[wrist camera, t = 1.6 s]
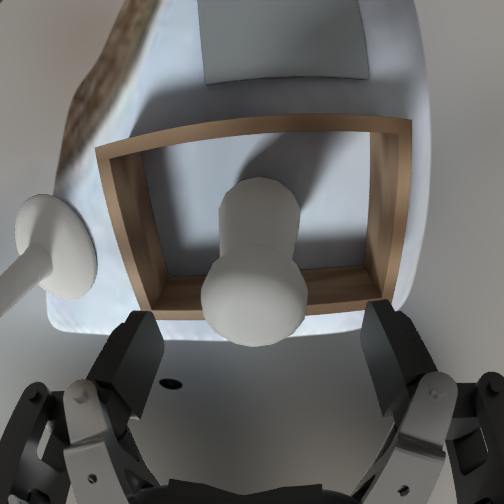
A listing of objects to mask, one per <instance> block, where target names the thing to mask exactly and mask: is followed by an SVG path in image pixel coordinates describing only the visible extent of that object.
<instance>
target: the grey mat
mask: <svg viewBox="0 0 504 504" xmlns="http://www.w3.org/2000/svg"><path fill="white" fill-rule="evenodd" d="M197 2H198V14H199V26H200V38H201V49H202V59H203V69H204V79H205V85H212V84H218V83H226V82H234V81H243V80H253V79H266V78H285V77H329V78H348V79H361V80H369V69H368V61H367V53H366V46H365V40H364V33H363V28H362V22H361V17H360V12H359V7H358V3H357V0H197Z"/></svg>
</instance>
